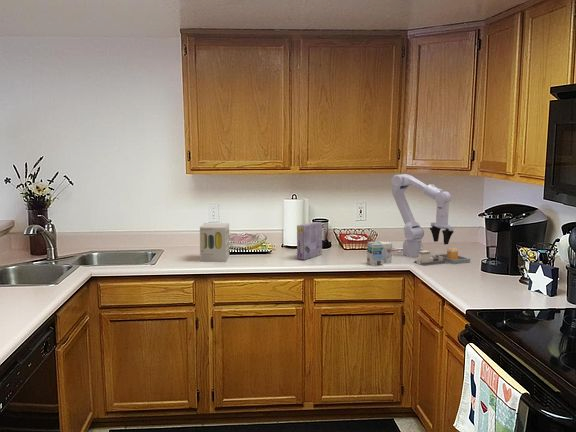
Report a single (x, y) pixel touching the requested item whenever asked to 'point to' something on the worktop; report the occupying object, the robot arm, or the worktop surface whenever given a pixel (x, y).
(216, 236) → the supplement box
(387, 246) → the light bulb box
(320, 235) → the cake pan box
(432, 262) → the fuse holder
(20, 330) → the worktop surface
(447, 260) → the slate tray
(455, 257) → the block
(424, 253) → the cream rectangular block
